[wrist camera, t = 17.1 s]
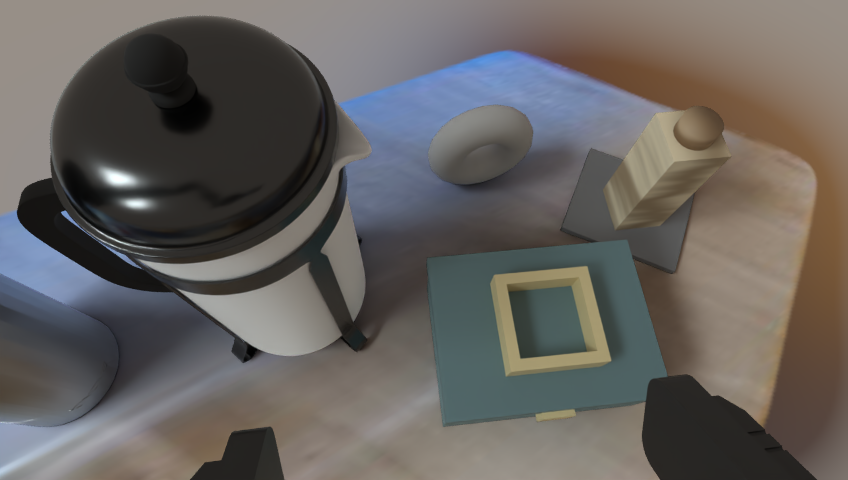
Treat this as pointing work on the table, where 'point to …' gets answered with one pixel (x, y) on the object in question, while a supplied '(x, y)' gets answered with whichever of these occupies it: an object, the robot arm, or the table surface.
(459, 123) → the donut
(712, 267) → the table surface
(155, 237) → the coffee press
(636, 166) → the wooden block
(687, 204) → the rubber mat
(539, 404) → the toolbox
